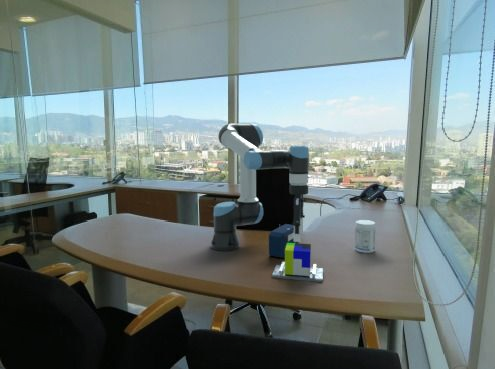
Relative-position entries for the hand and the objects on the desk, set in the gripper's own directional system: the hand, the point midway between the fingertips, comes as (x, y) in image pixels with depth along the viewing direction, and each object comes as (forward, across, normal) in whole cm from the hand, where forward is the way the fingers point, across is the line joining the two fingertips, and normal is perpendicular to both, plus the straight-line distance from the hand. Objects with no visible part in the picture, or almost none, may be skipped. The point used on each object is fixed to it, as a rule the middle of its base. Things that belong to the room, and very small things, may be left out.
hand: (298, 237), depth 130 cm
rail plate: (+16, 0, 0) cm, 16 cm away
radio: (+16, +26, +9) cm, 32 cm away
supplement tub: (+16, +37, -30) cm, 50 cm away
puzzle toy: (+14, 0, 0) cm, 14 cm away
